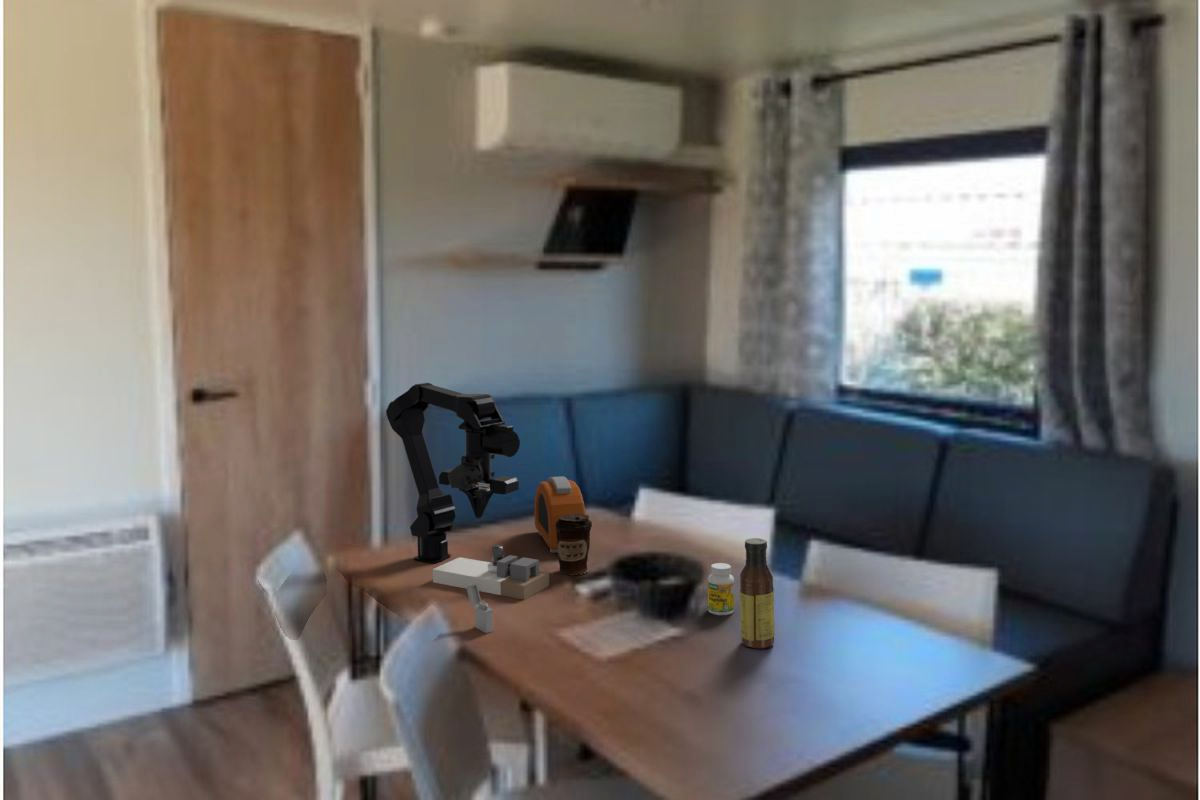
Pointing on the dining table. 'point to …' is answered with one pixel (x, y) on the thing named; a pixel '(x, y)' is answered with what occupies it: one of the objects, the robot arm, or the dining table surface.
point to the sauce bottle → (756, 597)
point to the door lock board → (494, 576)
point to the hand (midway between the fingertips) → (478, 517)
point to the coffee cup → (573, 543)
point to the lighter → (480, 610)
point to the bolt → (496, 556)
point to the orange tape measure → (555, 506)
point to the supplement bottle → (721, 590)
